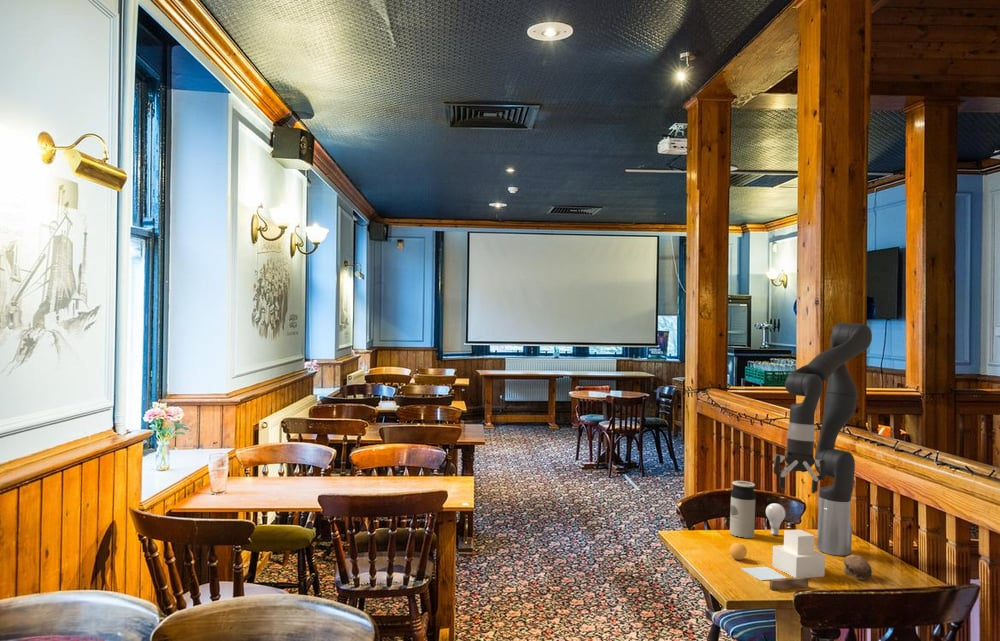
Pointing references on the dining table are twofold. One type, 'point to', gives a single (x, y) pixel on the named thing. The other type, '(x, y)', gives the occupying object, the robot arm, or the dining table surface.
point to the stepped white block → (798, 555)
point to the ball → (738, 551)
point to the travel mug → (742, 509)
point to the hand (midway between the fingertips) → (797, 491)
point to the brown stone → (857, 567)
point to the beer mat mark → (763, 573)
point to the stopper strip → (789, 583)
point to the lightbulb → (775, 516)
